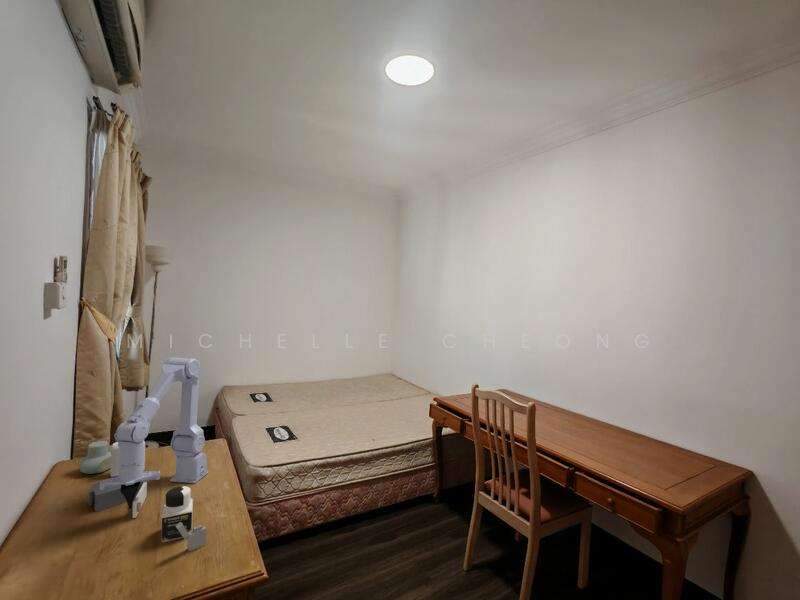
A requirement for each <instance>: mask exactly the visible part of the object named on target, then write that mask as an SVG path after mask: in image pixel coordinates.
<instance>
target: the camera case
mask: <svg viewBox="0 0 800 600" xmlns="http://www.w3.org/2000/svg"><path fill="white" fill-rule="evenodd" d="M100 482H101V481H99V482H94V483H91V484H90V490H89V492H88V493H87V502H88V503H87V504H88V506H89V507H91V506H92V507H93V509H94V511H95V512H96V513H97V512H100V511H103V510H107V509H109V508H112V507H116V506H119V505H122V504H125V503H127V501H126V499H125V497H124V495H123V494H122V493H121V491H120V489H121V485H120V486H115V487H109V488H105V489H103V490H100ZM143 483H144V481H142V482H140V486H139V488H138V490H137V492H136V494H135V497H134V499H133V501H134V500H135V498H136V496H137V494H138V492H139V490H140V489H141V487H142V485H143Z"/></svg>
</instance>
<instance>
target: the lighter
mask: <svg viewBox="0 0 800 600" xmlns="http://www.w3.org/2000/svg"><path fill="white" fill-rule="evenodd" d="M176 528H177V529H178V530H179V532H180V533H181V535H182V536H183V538H182V539H184V540H187V550H188V552H192V550H193V551H194V549H195V550H197V549H199V548H201V546H202V547H204V546H206V545H207V529H208V528H207V527H206V526H205V525H203V524H202V525H201V524H198V525H196V526H194V527H193V526H192V531H190V532H187V530H186V529H185V527H184V526H183V524H182V523H181V522H180V523H179V524H177V525H176ZM205 544H206V545H205ZM203 545H204V546H203ZM198 547H199V548H198ZM196 548H197V549H196Z"/></svg>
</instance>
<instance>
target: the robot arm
mask: <svg viewBox="0 0 800 600" xmlns="http://www.w3.org/2000/svg"><path fill="white" fill-rule="evenodd" d="M200 375H201V362H200V361H199V360H198V359H196V358H186V357H185V358H183V357H174V356H170V357H168V358H166V360H165V361H164V363H163V365H162V366H161V375H160V376H159V378H158V380H157V382H156V383H155V385H154V386H153V388H152V390H151V392H150V393H149V395H148V397H146V398H145V397H144V398H143V399H141V400H140V402H139V403H138V404H137V406H136V407H135V409H134V410H133V412H132V413H131V415H130V416H129V418H128V419H127V420H126V421H124V422H122V423H120V424H119V425H118V427H117V429H116V431H115V433H114V438H115V441H116V442H118V446H119V447H120V467H119V476H114V477H111V478H107V479H104V480H100V481H99V482H100V490H103V489H105V488H109V487H115V486H120V485H121V489H120V491H121V493H122V494H123V495H124V497H125V499H126V501H127V502H126V504H127V508H128V510H131V509H133V501H134V500H135V499H134V497H135V494H136V492H137V490H138V488H139V486H140V482H142V481H143V482H145V481H147V482H148V481H151V480H155V481H156V480H160V479H161V470H155V471H154V470H153V471H149V470H148V471H143V440H144V441H145V439H146V438H147V437H148V436H149V432H150V427H151V422H153V421H152V420H153V418H154V417H155V416H156V415H157V413H158V411H159V410H160V408H161V404H160V401H161V400H162V399H163V398H164V396H165V395H166V394H167V392H168V391H169V390H170V388H171V387H172V386H173V384H174V383H178V382H180V383H181V396H180V415H179V416H180V419H179V427H177V428H176V429H175V430H174V431H173V432H172V433H173V434H172V437H171V440H170V449H171V451H174V455H175V475H174V476H173V477H172V478H171V479H169V482H172V483H173V482H175V483H187V484H196V483H197V482H198V481H200V480H201V479H202V478H203V477H205V476H206V475H207V474H208V473H209V472H208V456H207V454H206V453H204V452H202V450H203V449H204V447H205V445H206V444H205V443H206V440H205V439H206V438H205V436H204V429H202V428H201V427H200V426H199V425H198V423H197V422H198V409H199V407H198V406H199V390H200V377H201V376H200ZM133 499H134V500H133Z"/></svg>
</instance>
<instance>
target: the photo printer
mask: <svg viewBox="0 0 800 600" xmlns="http://www.w3.org/2000/svg"><path fill="white" fill-rule="evenodd" d="M110 450H111V451H110V452H111V468H109V469H110V471H109V473H110V475H109V476H110V477H111V478H114V477H118V476H119V467H120V447H119V446H118V441H116V442H114V443H112V446H111V448H110ZM145 465H146V441H145V439H144V440H143V472H145V470H146V469H145V468H146V467H145Z"/></svg>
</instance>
